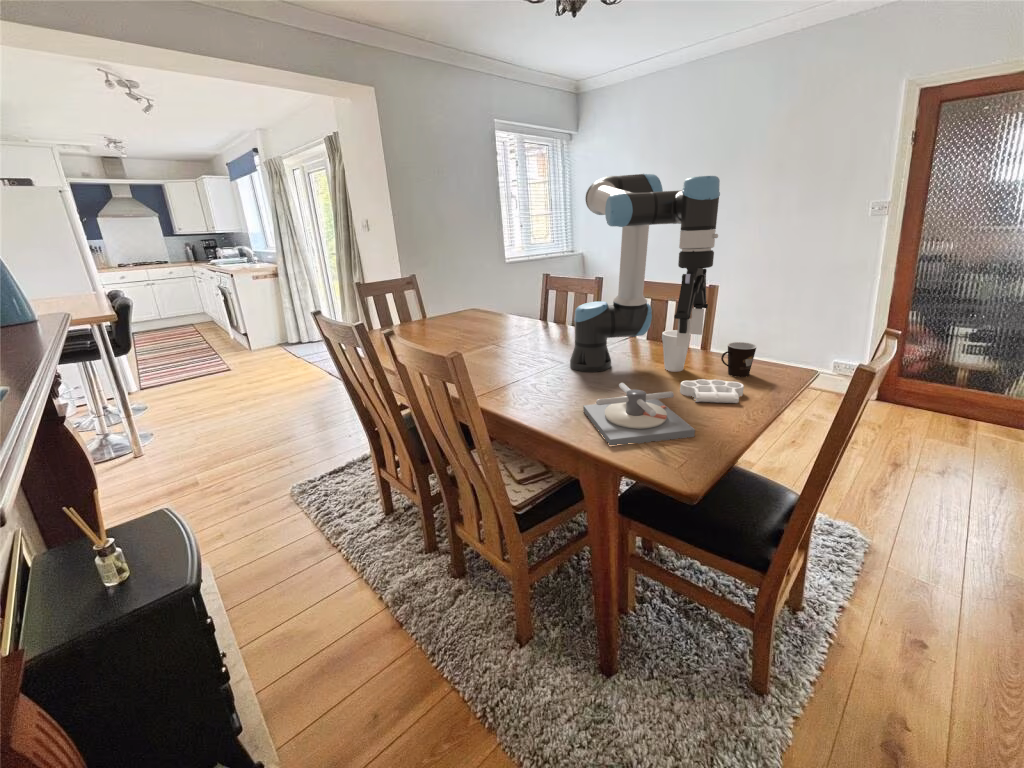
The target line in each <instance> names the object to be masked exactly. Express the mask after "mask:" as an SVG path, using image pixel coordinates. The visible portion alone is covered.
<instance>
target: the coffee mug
mask: <svg viewBox="0 0 1024 768" xmlns="http://www.w3.org/2000/svg"><path fill="white" fill-rule="evenodd" d="M756 350H757V344H754V343H750V342H741V341H740V342H737V341H734V342H730V343H728V344H727V351H725V352H724V353H722V355H721V360H720V361H721V362H722V363H723V364H724V365H725V366H726V367H727V374H728V375H729V376H731V375H732V377H734V376H736V378H746V376H747V377H749V376H750V373H751V369H752V365H753V362H754V359H755V353H756ZM725 355H727V363H726V362H725V360H724V357H725Z"/></svg>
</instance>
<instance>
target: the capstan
mask: <svg viewBox="0 0 1024 768" xmlns="http://www.w3.org/2000/svg"><path fill="white" fill-rule="evenodd" d="M618 387H619V388H620V389H621V390H622V391H623V393H625V394H626V396H625V395H624V396H617V397H609V398H608V397H607V398H598V399H596V401H595V402H596V403H595V404H597V405H607V404H611V405H609V406H608V407H606V409H605V417H606V419H607V420H608V421H610V422H611V423H613V424H616V425H618V426H622V427H627V428H635V429H644V428H652V427H656V426H659V425H661V424H663V423H664V422H665V421H666V419H667V413H666V411H665V410H664V409H663V408H662V407H660V406H658V405H655V404H652V403H648V402H646V400H653V399H658V400H660V399H661V400H663V399H668V398H669V399H671V398H674V392H673V391H671V390H670V391H663V392H654V393H647V392H646V391H644V390H642V389H631V388H629V386H628V385H626V384H625V383H624V382H620V383H619V384H618Z"/></svg>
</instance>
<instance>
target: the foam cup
mask: <svg viewBox="0 0 1024 768" xmlns="http://www.w3.org/2000/svg"><path fill="white" fill-rule="evenodd" d="M691 337H692V334H690V340H691ZM661 341H662V348H663V349H662V350H663V351H662V352H663V363H664V366H663V367H664V370H665V369H666V370H665V371H667V370H668V371H667V372H672V373H673V372H675V373H676V372H681V371H684V369H685V368H684V367H685V365H686V363H685V362H686V359H687V355H688V351H689V347H681V346H676V344H677V329H675V330H674V329H669V330H664V331H662V335H661Z"/></svg>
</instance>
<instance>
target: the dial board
mask: <svg viewBox="0 0 1024 768" xmlns="http://www.w3.org/2000/svg"><path fill="white" fill-rule="evenodd" d="M646 402H648V403H652V404H655V405H658V406H660V407H662V408H663V409H664V410H665V411H666V413H667V419H666V421H665V422H664V423H663V424H661V425H659V426H656V427H652V428H644V429H635V428H627V427H622V426H618V425H616V424H613V423H611V422H610V421H608V420H607V419H606V417H605V409H606V407H608V406H609V405H611V404H607V405H597V404H596V403H594V404H593V403H592V404H584V405H582V406H583V410H582V411H584V412H585V413H584V412H583V413H584V415H585V414H586V415H587V416H588V417H587V416H586V415H585V416H586V417H587V419H588V418H589V419H590V420H591V421H590V420H589V419H588V420H589V421H590V423H591V422H592V423H593V424H594V425H595V426H594V425H593V424H592V423H591V424H592V425H593V426H594V428H595V427H596V428H597V429H598V430H599V432H600V433H601V434H602V435H603V437H604V438H605V440H606V441H607V442H608V443H609V445H617V444H628V443H638V444H645V443H644V442H646V443H652V442H651V441H655V442H660V441H661V440H663V441H670V439H671V440H679V439H678V438H680V439H686V438H687V437H688V438H694V437H695V433H696V429H695V428H694V427H693V426H691V425H690V424H689V423H688V422H687V421H685V420H684V419H683V418H682V417H680V416H679V415H678V414H677V413H675V411H673V410H672V409H671V408H669V407H668V406H667V405H665V403H664V402H662V401H661V400H660V399H653V400H646ZM596 428H595V429H596ZM597 429H596V430H597ZM598 430H597V431H598ZM599 432H598V433H599ZM600 433H599V434H600ZM601 434H600V435H601ZM603 437H602V438H603ZM604 438H603V439H604ZM605 440H604V441H605ZM606 441H605V442H606ZM607 442H606V443H607ZM661 442H662V441H661ZM609 445H608V446H609Z"/></svg>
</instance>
